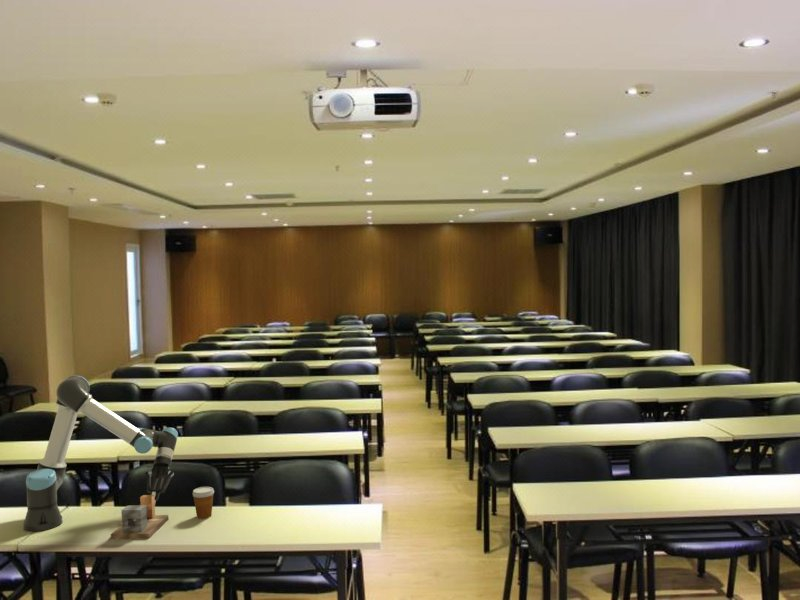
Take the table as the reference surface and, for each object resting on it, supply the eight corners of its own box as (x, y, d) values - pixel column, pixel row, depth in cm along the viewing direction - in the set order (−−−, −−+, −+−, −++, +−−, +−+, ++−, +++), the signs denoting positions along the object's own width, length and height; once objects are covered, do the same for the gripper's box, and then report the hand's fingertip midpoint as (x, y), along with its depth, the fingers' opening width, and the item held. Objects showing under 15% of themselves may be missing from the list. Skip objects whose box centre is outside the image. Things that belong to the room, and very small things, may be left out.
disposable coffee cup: (192, 521, 307) (191, 494, 307) (193, 514, 316) (192, 487, 316) (215, 518, 310) (214, 491, 309) (215, 511, 319) (214, 485, 318)
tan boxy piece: (131, 526, 296) (130, 505, 296) (143, 515, 309) (142, 495, 308) (143, 525, 296) (142, 504, 295) (154, 515, 309) (154, 495, 308)
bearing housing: (110, 538, 288) (109, 512, 288) (132, 520, 310) (131, 495, 310) (149, 538, 288) (148, 511, 288) (168, 519, 310) (167, 494, 309)
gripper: (179, 463, 328) (168, 510, 312) (151, 463, 329) (139, 510, 313) (175, 454, 323) (163, 502, 307) (147, 455, 323) (134, 503, 307)
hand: (151, 506), depth 310 cm, fingers closed
